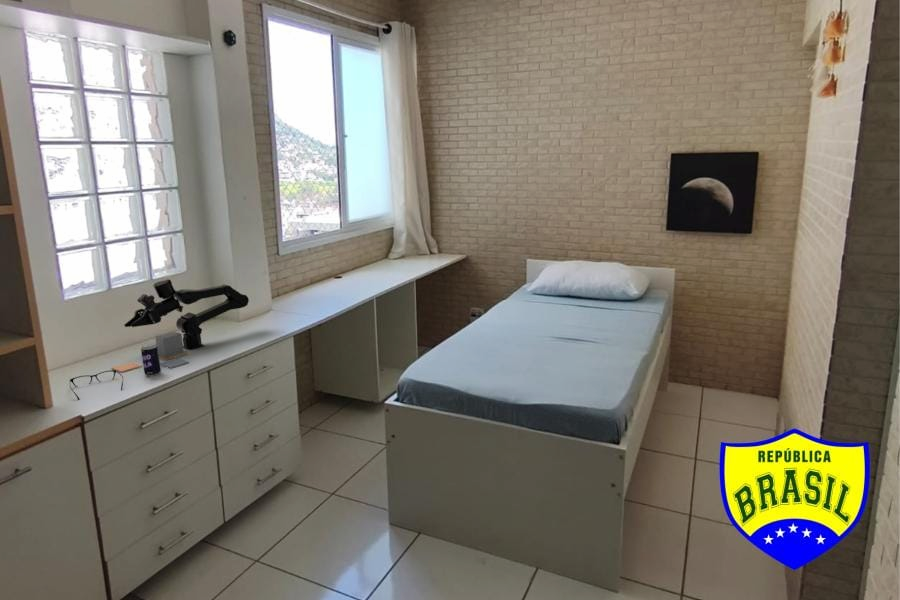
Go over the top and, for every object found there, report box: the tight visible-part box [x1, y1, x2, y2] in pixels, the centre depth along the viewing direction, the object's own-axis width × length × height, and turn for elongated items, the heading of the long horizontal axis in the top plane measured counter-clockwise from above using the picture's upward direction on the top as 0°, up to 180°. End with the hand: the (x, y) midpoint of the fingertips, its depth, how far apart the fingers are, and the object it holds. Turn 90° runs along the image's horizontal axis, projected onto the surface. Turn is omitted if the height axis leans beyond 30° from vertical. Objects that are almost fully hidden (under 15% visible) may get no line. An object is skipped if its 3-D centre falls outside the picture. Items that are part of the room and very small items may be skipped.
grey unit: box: [154, 331, 188, 361], centre depth 252 cm, size 10×8×9 cm
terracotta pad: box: [111, 361, 143, 374], centre depth 239 cm, size 8×8×1 cm
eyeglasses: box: [69, 369, 124, 401], centre depth 218 cm, size 16×16×4 cm
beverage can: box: [140, 342, 162, 377], centre depth 230 cm, size 6×6×12 cm
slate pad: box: [160, 357, 190, 369], centre depth 243 cm, size 8×8×1 cm
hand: (128, 326), depth 243 cm, fingers open, 9 cm apart
